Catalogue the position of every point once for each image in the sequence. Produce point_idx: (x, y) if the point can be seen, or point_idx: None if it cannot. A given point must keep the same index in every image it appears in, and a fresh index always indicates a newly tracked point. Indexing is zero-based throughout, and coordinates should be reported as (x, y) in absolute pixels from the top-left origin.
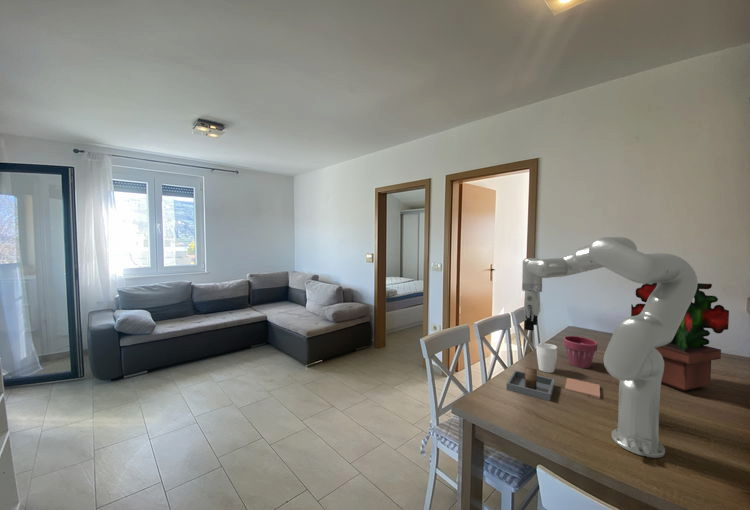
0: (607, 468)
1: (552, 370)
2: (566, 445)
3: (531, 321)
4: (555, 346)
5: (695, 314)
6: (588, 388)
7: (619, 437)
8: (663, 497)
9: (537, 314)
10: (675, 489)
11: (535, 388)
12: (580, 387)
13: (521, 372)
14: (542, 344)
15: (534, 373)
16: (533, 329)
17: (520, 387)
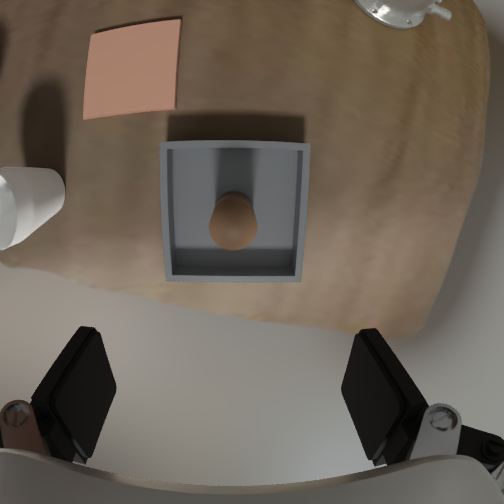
0: (479, 73)
1: (52, 171)
2: (463, 122)
3: (412, 414)
4: None
5: None
6: (134, 50)
7: (403, 17)
8: (485, 28)
9: (441, 473)
10: (464, 4)
11: (242, 193)
12: (139, 69)
13: (170, 257)
14: None
15: (250, 208)
16: (369, 332)
17: (304, 238)
